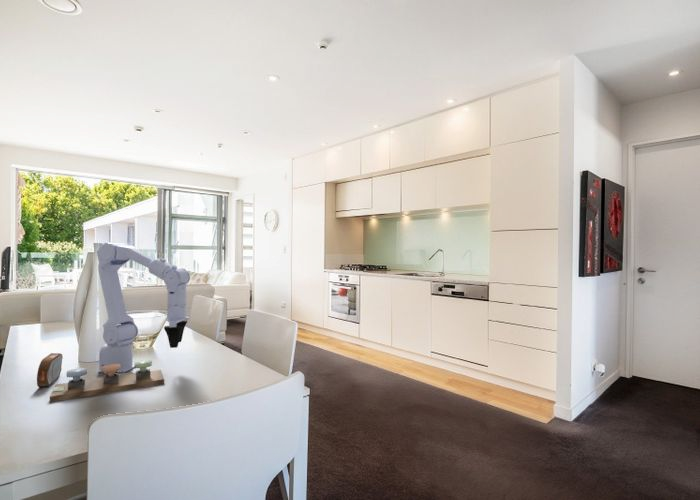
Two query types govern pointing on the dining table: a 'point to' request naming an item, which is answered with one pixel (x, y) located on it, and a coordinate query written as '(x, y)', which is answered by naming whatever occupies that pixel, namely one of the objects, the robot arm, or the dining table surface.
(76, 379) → the slate button
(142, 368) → the sage button
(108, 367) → the terracotta button
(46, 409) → the dining table surface
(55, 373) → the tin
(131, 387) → the button board
